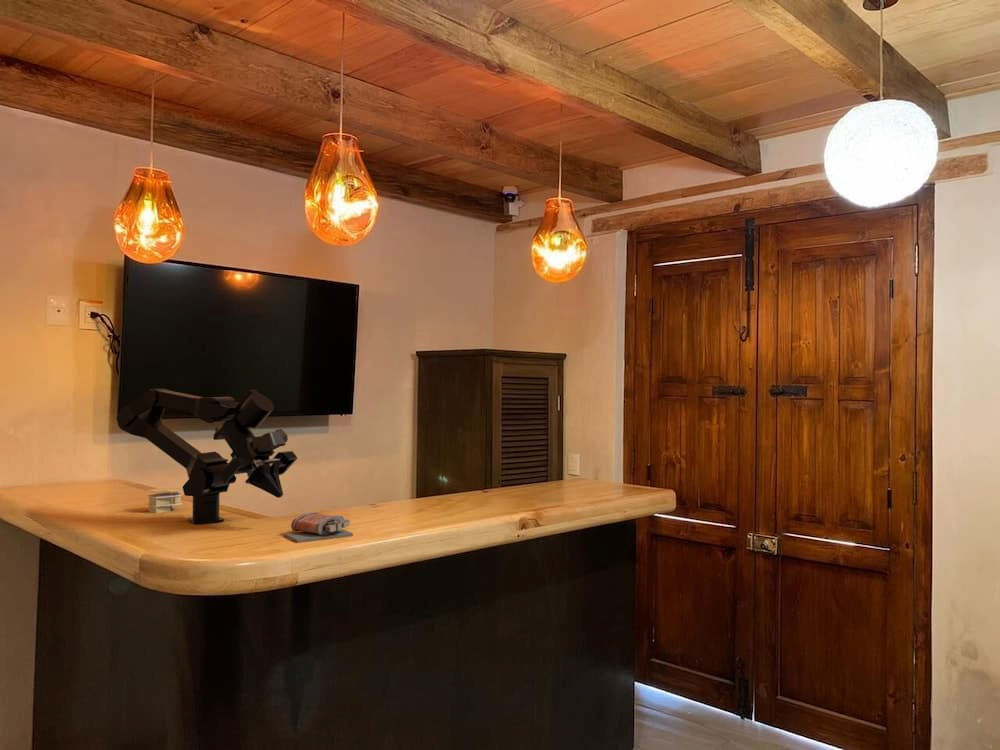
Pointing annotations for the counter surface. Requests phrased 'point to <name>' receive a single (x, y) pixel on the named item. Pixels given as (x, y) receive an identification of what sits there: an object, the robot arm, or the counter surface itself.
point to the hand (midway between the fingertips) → (280, 496)
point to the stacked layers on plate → (163, 500)
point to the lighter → (319, 523)
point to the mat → (316, 536)
